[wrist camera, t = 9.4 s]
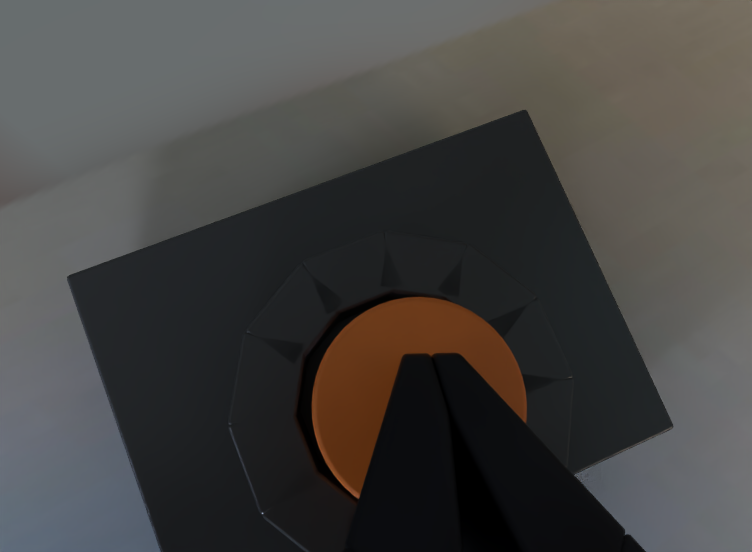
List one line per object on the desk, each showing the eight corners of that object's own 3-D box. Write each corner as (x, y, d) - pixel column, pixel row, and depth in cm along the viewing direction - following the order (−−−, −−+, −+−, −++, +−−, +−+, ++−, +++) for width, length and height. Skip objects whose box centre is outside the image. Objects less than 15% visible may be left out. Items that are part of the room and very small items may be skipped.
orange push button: (449, 285, 12) (476, 264, 10) (519, 448, 11) (563, 465, 9) (286, 350, 11) (278, 344, 9) (354, 524, 11) (361, 559, 9)
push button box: (481, 168, 18) (556, 68, 12) (594, 421, 17) (734, 443, 11) (128, 301, 17) (22, 258, 11) (230, 586, 16) (174, 712, 10)
